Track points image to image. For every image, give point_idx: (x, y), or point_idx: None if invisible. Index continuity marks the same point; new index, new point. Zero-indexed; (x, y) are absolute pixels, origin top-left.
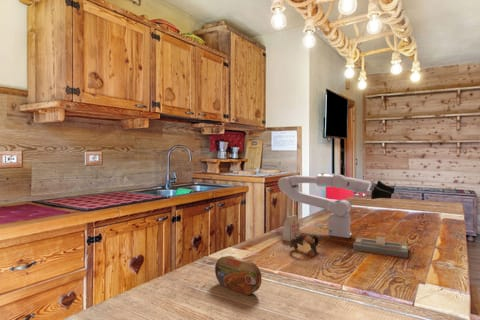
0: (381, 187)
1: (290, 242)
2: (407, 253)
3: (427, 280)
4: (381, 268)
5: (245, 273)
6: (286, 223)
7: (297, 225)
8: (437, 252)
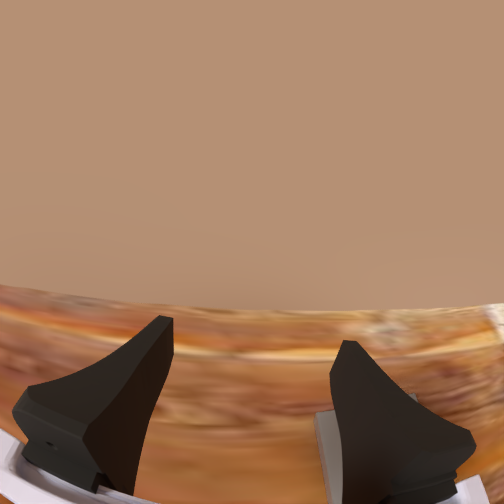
0: (127, 427)
1: None
2: (413, 395)
3: (494, 342)
4: None
5: None
6: None
7: None
8: (291, 352)
